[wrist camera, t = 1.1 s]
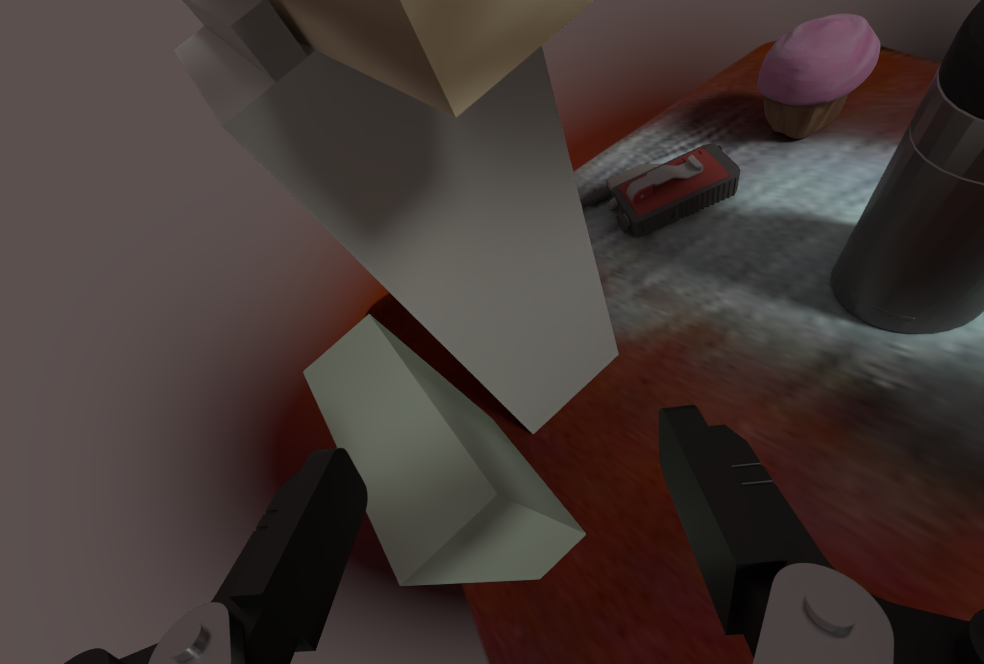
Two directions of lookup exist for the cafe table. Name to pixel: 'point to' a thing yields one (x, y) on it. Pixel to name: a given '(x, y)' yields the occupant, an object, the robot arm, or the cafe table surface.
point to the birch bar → (429, 40)
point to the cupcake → (815, 72)
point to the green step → (435, 468)
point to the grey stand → (426, 198)
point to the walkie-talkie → (669, 189)
